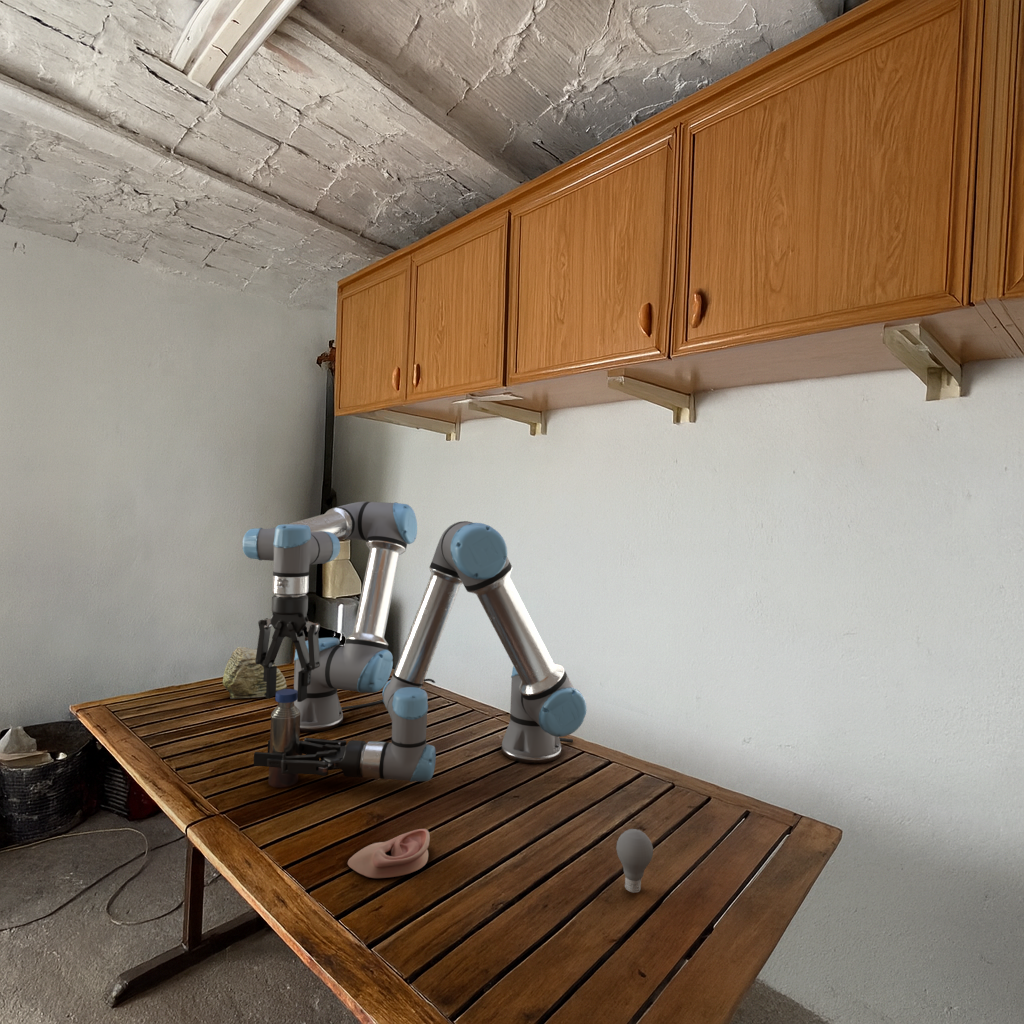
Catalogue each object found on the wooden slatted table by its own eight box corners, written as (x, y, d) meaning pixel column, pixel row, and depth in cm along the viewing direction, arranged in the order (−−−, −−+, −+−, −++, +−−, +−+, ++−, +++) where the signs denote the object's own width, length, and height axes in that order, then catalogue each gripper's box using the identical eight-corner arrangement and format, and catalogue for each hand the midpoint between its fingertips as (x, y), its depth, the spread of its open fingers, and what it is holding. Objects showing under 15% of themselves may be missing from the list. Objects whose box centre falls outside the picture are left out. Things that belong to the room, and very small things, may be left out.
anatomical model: (339, 849, 107) (368, 816, 118) (339, 872, 107) (367, 837, 118) (414, 862, 104) (436, 827, 115) (413, 885, 104) (435, 848, 116)
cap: (301, 699, 141) (302, 691, 141) (285, 704, 137) (285, 696, 137) (287, 695, 143) (287, 687, 143) (270, 700, 139) (271, 692, 139)
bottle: (303, 781, 140) (306, 695, 140) (276, 790, 136) (279, 701, 135) (289, 772, 144) (292, 689, 144) (263, 780, 140) (266, 694, 140)
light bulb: (610, 879, 108) (613, 822, 108) (644, 879, 109) (647, 822, 109) (619, 902, 102) (622, 840, 102) (655, 901, 103) (658, 840, 103)
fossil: (218, 695, 195) (220, 647, 195) (278, 685, 208) (279, 640, 207) (228, 703, 189) (230, 653, 188) (289, 692, 201) (290, 645, 201)
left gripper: (239, 593, 138) (235, 698, 138) (323, 600, 134) (319, 708, 134) (259, 589, 145) (255, 689, 145) (339, 595, 141) (335, 697, 142)
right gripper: (350, 796, 130) (240, 788, 131) (375, 758, 149) (279, 752, 150) (351, 760, 129) (241, 752, 131) (376, 726, 149) (280, 720, 150)
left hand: (286, 698), depth 140 cm, fingers open, 7 cm apart
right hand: (261, 752), depth 140 cm, fingers closed on bottle, 6 cm apart
